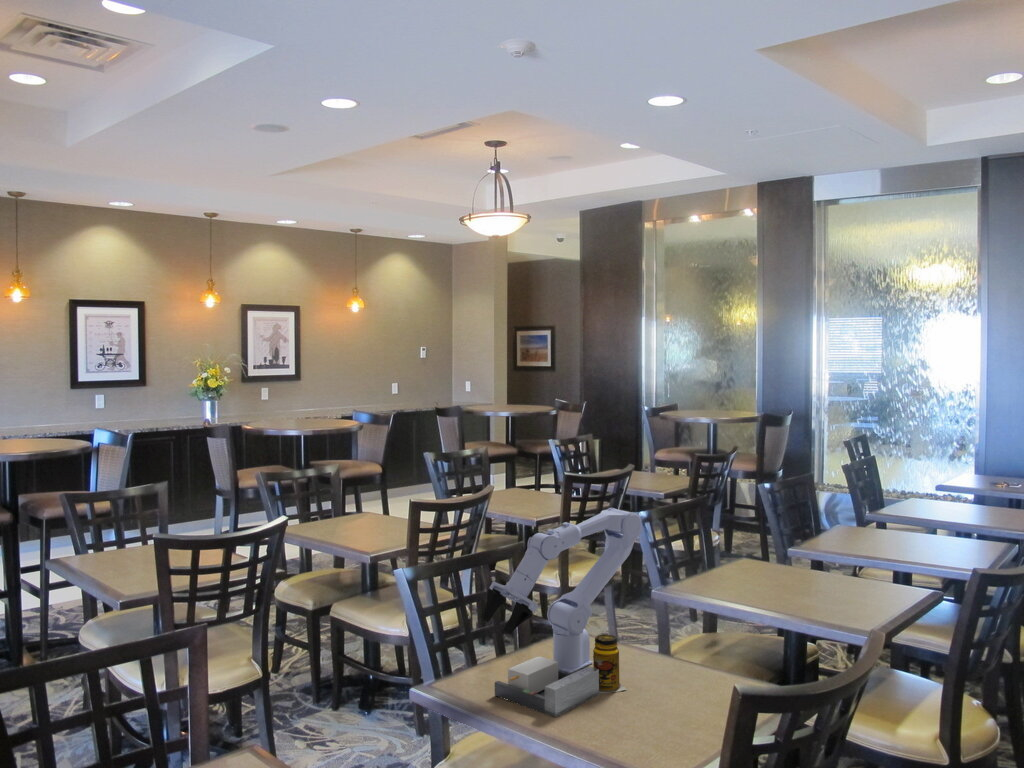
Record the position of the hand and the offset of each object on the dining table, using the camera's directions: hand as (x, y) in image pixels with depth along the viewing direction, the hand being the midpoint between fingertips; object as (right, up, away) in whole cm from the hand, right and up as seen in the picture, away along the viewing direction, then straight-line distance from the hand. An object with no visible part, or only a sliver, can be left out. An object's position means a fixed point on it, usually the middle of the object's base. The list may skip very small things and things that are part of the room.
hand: (495, 626), depth 199 cm
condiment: (+26, -14, -1) cm, 30 cm away
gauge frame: (+12, -14, -7) cm, 20 cm away
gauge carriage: (+8, -13, -5) cm, 16 cm away
